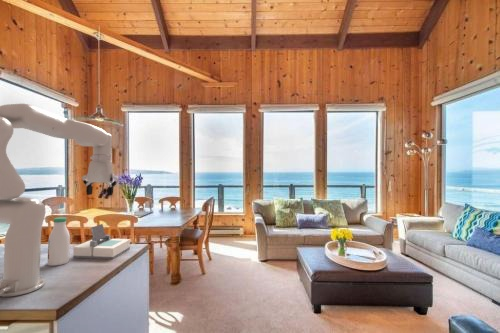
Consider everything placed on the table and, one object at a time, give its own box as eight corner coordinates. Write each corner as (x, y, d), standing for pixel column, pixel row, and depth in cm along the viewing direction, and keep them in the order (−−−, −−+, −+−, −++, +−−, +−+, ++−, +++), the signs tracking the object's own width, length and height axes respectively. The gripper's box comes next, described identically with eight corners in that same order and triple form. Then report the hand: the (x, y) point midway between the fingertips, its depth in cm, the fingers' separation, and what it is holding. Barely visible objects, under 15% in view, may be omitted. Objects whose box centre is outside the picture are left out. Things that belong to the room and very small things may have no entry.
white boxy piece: (112, 259, 119) (113, 242, 119) (73, 257, 120) (73, 241, 120) (129, 248, 135) (130, 234, 135) (94, 247, 136) (95, 233, 136)
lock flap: (93, 245, 123) (97, 244, 123) (89, 228, 123) (92, 227, 123) (105, 240, 132) (107, 239, 132) (100, 224, 132) (103, 223, 132)
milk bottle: (73, 260, 116) (75, 216, 116) (59, 266, 108) (60, 219, 109) (57, 259, 117) (59, 216, 117) (42, 265, 109) (44, 219, 110)
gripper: (78, 157, 117) (75, 195, 116) (115, 158, 117) (113, 196, 116) (88, 158, 124) (86, 193, 123) (123, 160, 124) (122, 195, 123)
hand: (99, 195), depth 120 cm, fingers open, 9 cm apart
